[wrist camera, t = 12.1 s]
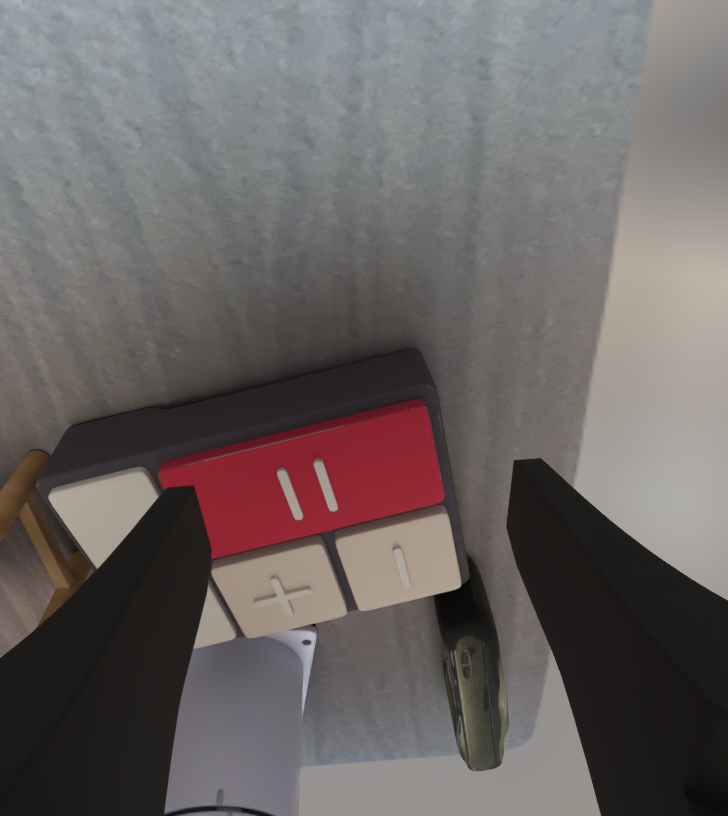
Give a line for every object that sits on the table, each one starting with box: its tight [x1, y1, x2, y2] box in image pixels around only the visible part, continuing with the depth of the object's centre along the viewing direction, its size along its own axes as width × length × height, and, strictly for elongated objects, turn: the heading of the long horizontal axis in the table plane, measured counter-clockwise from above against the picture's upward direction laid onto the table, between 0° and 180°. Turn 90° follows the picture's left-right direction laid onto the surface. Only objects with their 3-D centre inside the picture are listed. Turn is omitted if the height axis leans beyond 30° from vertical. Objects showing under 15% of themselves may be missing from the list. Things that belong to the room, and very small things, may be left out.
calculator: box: [35, 349, 469, 649], centre depth 24 cm, size 11×4×15 cm
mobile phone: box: [433, 561, 509, 771], centre depth 31 cm, size 5×3×15 cm
